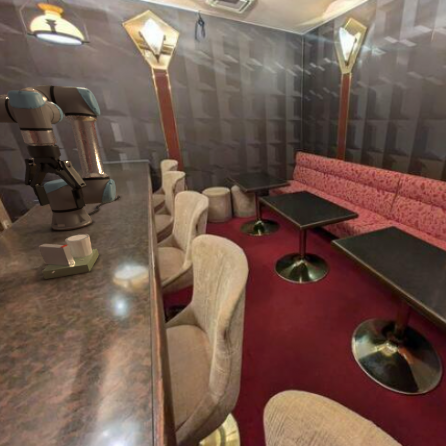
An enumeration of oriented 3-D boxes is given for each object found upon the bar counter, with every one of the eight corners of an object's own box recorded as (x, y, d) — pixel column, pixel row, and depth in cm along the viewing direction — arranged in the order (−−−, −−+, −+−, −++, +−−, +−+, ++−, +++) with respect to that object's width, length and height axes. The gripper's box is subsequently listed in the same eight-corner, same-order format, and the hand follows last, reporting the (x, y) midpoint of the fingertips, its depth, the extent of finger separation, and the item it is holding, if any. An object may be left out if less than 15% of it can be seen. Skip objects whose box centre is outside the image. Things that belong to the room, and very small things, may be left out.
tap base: (49, 262, 92) (46, 255, 91) (98, 255, 98) (96, 248, 97) (28, 285, 79) (25, 277, 78) (87, 275, 85) (85, 267, 84)
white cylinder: (81, 259, 89) (75, 242, 87) (65, 257, 90) (59, 240, 88) (98, 251, 95) (94, 234, 93) (84, 248, 97) (79, 232, 94)
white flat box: (45, 264, 86) (38, 245, 83) (51, 261, 87) (44, 242, 85) (69, 265, 85) (62, 247, 82) (74, 263, 87) (68, 244, 84)
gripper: (88, 145, 83) (104, 204, 91) (19, 141, 84) (41, 200, 92) (67, 147, 76) (87, 211, 84) (-8, 143, 77) (18, 207, 85)
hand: (63, 206), depth 88 cm, fingers open, 13 cm apart
